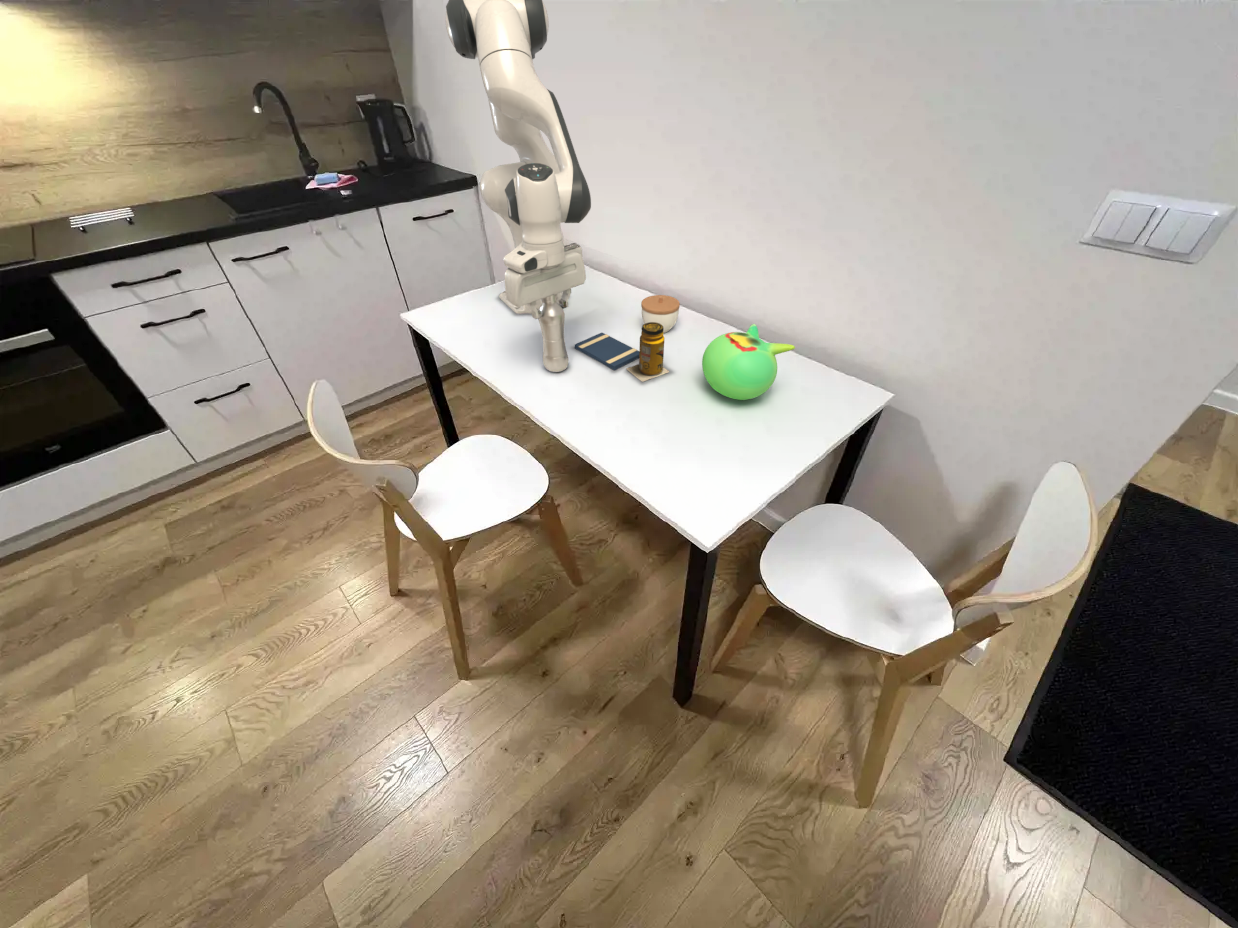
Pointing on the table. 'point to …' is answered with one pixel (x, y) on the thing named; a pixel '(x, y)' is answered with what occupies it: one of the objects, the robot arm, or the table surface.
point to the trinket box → (660, 310)
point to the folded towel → (608, 351)
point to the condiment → (650, 353)
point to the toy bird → (741, 364)
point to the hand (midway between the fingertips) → (550, 312)
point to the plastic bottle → (553, 334)
